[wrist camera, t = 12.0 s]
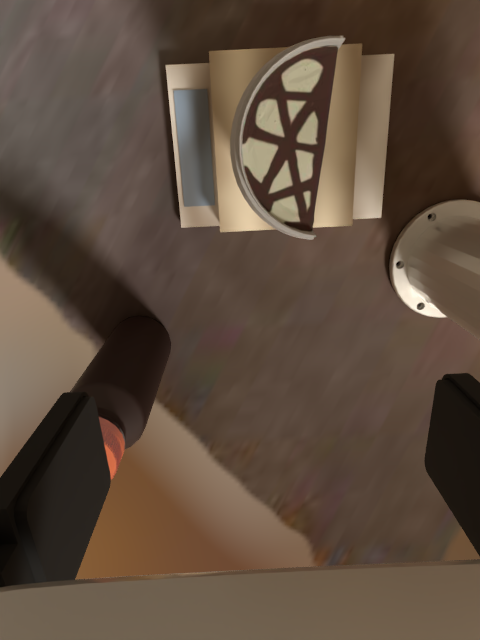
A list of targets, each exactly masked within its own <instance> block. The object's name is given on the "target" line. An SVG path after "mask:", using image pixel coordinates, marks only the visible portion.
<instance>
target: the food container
mask: <svg viewBox="0 0 480 640" xmlns="http://www.w3.org/2000/svg"><path fill="white" fill-rule="evenodd" d="M344 40H345V38H343V36H324V37H319V38H313V39H309V40H306V41H303V42H300V43H298V44H295V45H292V46H290V47H289V48H287V49H285V50H283V51H282V52H280V53H278V54H277V55H276V56H274V57H273V58H272V59H271V60H269V61H268V62H267V63H266V64H265V65H264V66H263V67H262V68H261V69H260V70H259V71H258V72H257V74H256V75H255V76H254V77H253V78H252V80H251V81H250V83H249V85H248V86H247V88H246V89H245V91H244V93H243V95H242V97H241V99H240V101H239V104H238V106H237V109H236V112H235V116H234V119H233V123H232V130H231V137H230V156H231V162H232V168H233V172H234V176H235V179H236V182H237V185H238V187H239V189H240V191H241V193H242V195H243V197H244V199H245V200H246V201H247V203H248V204H249V206H250V207H251V209H252V210H253V211H254V212H255V213H256V214H257V215H258V216H259V217H260V218H261V219H262V220H263V221H265V222H266V223H267V224H269V225H270V226H271V227H273V228H275V229H277V230H279V231H281V232H283V233H284V234H287V235H291V236H294V237H297V238H302V239H308V240H311V239H314V237H316V235H315V233H314V232H313V230H312V229H313V223H314V213H315V205H316V199H317V192H318V186H319V179H320V173H321V167H322V161H323V155H324V149H325V142H326V134H327V125H328V118H329V110H330V103H331V96H332V89H333V82H334V75H335V67H336V60H337V53H338V49H339V48H340V46H341V45H342V43H343V42H344Z"/></svg>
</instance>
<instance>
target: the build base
mask: <svg viewBox="0 0 480 640" xmlns="http://www.w3.org/2000/svg"><path fill="white" fill-rule="evenodd" d="M287 48H289V47H281V48H260V49H240V50H220V51H209V62H210V63H197V64H177V65H166V74H167V85H168V95H169V105H170V115H171V126H172V136H173V146H174V157H175V167H176V177H177V187H178V198H179V208H180V218H181V228H182V227H202V226H220V232H231V231H252V230H272V229H275V228H273V227H271V226H270V225H269V224H267V223H266V222H265V221H263V220H262V219H261V218H260V217H259V216H258V215H257V214H256V213H255V212H254V211H253V210H252V209H251V207H250V206H249V204H248V203H247V201H246V200H245V199H244V197H243V195H242V193H241V191H240V189H239V187H238V185H237V182H236V179H235V176H234V172H233V168H232V162H231V156H230V137H231V130H232V123H233V119H234V116H235V112H236V109H237V106H238V104H239V101H240V99H241V97H242V95H243V93H244V91H245V89H246V88H247V86H248V85H249V83H250V81H251V80H252V78H253V77H254V76H255V75H256V74H257V72H258V71H259V70H260V69H261V68H262V67H263V66H264V65H265V64H266V63H267V62H268V61H269V60H271V59H272V58H273V57H274V56H276V55H277V54H278V53H280V52H282V51H283V50H285V49H287ZM393 65H394V54H380V55H362V44H342V45H341V46H340V48H339V49H338V53H337V60H336V67H335V75H334V82H333V89H332V96H331V103H330V110H329V118H328V125H327V134H326V142H325V149H324V155H323V161H322V167H321V173H320V179H319V186H318V192H317V199H316V205H315V213H314V223H313V227H333V226H352V221H353V219H366V218H381V214H382V201H383V189H384V177H385V164H386V152H387V139H388V127H389V115H390V102H391V90H392V77H393Z"/></svg>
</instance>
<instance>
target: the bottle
mask: <svg viewBox="0 0 480 640" xmlns="http://www.w3.org/2000/svg"><path fill="white" fill-rule="evenodd" d="M170 349H171V341H170V338H169V334H168V333H167V331H166V330H165V328H164V327H163V326H162V325H161V324H160V323H158V322H157V321H155V320H153V319H151V318H148V317H141V316H136V317H131V318H128V319H126V320H124V321H122V322H120V324H119V325H118V326H117V327H116V328H115V329H114V330H113V332H112V333H111V335H110V336H109V338H108V339H107V340H106V342H105V343H104V345H103V346H102V347H101V349H100V350H99V352H98V353H97V354H96V356H95V357H94V359H93V360H92V362H91V363H90V364H89V366H88V367H87V369H86V370H85V372H84V373H83V374H82V376H81V377H80V378H79V380H78V381H77V383H76V384H75V386H74V387H73V388H72V390H71V391H70V392H86V393H87V394H88V396H89V397H94V399H95V402H96V406H97V411H98V416H99V421H100V426H101V431H102V436H103V440H104V445H105V450H106V455H107V460H108V465H109V470H110V475H111V479H113V477H114V475H115V474H116V472H117V469H118V466H119V464H120V461H121V458H122V455H123V453H124V450H125V449H127V448H129V447H131V446H132V445H133V444H134V443H135V442H136V441H137V440H139V438H140V437H141V435H142V433H143V431H144V429H145V427H146V424H147V421H148V418H149V415H150V412H151V409H152V406H153V403H154V400H155V397H156V394H157V391H158V387H159V384H160V381H161V378H162V375H163V372H164V369H165V366H166V363H167V360H168V357H169V354H170Z"/></svg>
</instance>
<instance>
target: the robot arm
mask: <svg viewBox="0 0 480 640" xmlns="http://www.w3.org/2000/svg"><path fill="white" fill-rule="evenodd" d="M429 214H430V217H429V218H428V215H429ZM398 261H399V264H398V265H396V263H397V262H398ZM389 272H390V279H391V283H392V287H393V288H394V290H395V292H396V294H397V296H398V297H399V298H400V299H401V301H402V302H403V303H404V304H406V305H407V306H408V307H409V308H411V309H412V310H414V311H415V312H417V313H419V314H422V315H425V316H429V317H436V318H444V317H448V318H450V319H451V320H452V321H454V322H455V323H456V324H458V325H459V326H461V327H462V328H463V329H465V330H466V331H468V332H469V333H470V334H472V335H473V336H474V337H476V338H477V339H479V340H480V202H476V201H472V200H464V199H459V200H448V201H444V202H440V203H437V204H435V205H433V206H431V207H428V208H427V209H425V210H424V211H422V212H421V213H419V214H417V215H416V216H415V217H414V218H413V219H412V220H411V221H410V222H409V223H408V224H407V225H406V226H405V228H404V229H403V230H402V231H401V233H400V234H399V236H398V238H397V240H396V242H395V244H394V247H393V250H392V253H391V256H390V264H389ZM417 304H419V305H417ZM425 467H426V470H427V473H428V475H429V476H430V478H431V479H432V481H433V482H434V484H435V486H436V487H437V489H438V490H439V492H440V494H441V495H442V497H443V498H444V500H445V502H446V503H447V505H448V506H449V508H450V510H451V511H452V513H453V514H454V516H455V518H456V519H457V521H458V522H459V524H460V526H461V527H462V529H463V530H464V532H465V533H466V535H467V537H468V538H469V540H470V542H471V543H472V544H473V546H474V548H475V549H476V551H477V553H478V554H479V556H480V383H479V382H478V381H477V380H476V379H475V378H474V377H473V376H471V375H470V374H468V373H461V374H446V375H444V376H443V378H442V380H438V381H437V383H436V387H435V394H434V400H433V407H432V414H431V420H430V427H429V433H428V440H427V447H426V453H425ZM110 482H111V475H110V470H109V465H108V460H107V455H106V450H105V445H104V440H103V436H102V431H101V426H100V421H99V416H98V411H97V406H96V402H95V399H94V397H89V396H88V394H87V393H86V392H67V393H63V394H62V395H61V396H60V398H59V399H58V400H57V401H56V403H55V404H54V406H53V407H52V408H51V410H50V411H49V412H48V414H47V415H46V416H45V418H44V419H43V420H42V422H41V423H40V425H39V426H38V427H37V429H36V430H35V431H34V433H33V434H32V435H31V437H30V438H29V440H28V441H27V442H26V444H25V445H24V446H23V448H22V449H21V450H20V452H19V453H18V455H17V456H16V457H15V458H14V460H13V461H12V463H11V464H10V465H9V467H8V468H7V469H6V471H5V472H4V473H3V475H2V476H1V478H0V640H480V560H455V561H431V562H407V563H384V564H361V565H339V566H318V567H298V568H277V569H258V570H237V571H217V572H199V573H180V574H164V575H163V574H162V575H143V576H126V577H110V578H95V579H79V580H75V578H76V575H77V573H78V570H79V567H80V565H81V562H82V559H83V557H84V554H85V552H86V549H87V546H88V544H89V541H90V538H91V536H92V533H93V530H94V527H95V525H96V522H97V520H98V517H99V514H100V512H101V509H102V506H103V504H104V501H105V499H106V496H107V493H108V491H109V488H110Z"/></svg>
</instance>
